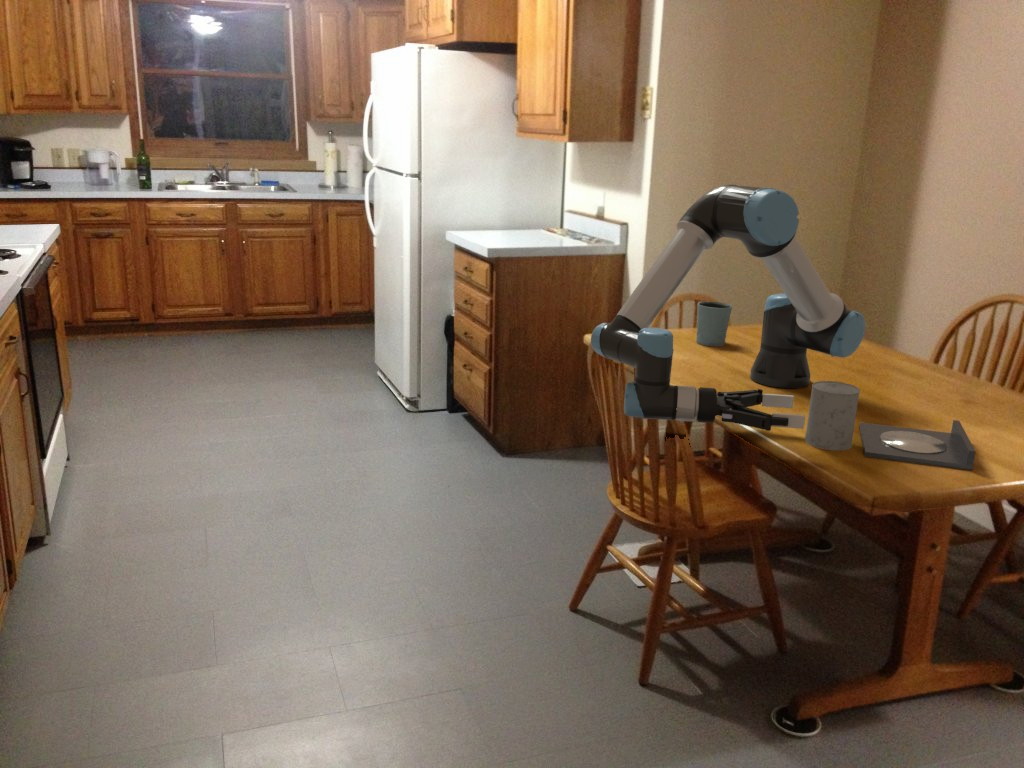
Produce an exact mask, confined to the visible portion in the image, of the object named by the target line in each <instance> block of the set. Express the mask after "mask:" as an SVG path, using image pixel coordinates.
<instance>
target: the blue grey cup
mask: <svg viewBox="0 0 1024 768" xmlns="http://www.w3.org/2000/svg"><path fill="white" fill-rule="evenodd" d="M732 309H733V307H732V305H731V304H729V303H725V302H720V301H719V302H718V301H708V300H707V301H699V302H698V303H697V318H696V320H697V321H696V325H697V326H696V328H697V329H696V339H695V340H696V343H697V344H698V345H701V346H706V347H722V346H724V345H725V344H726V338H727V332H728V328H729V322H730V317H731V314H732Z"/></svg>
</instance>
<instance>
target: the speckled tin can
mask: <svg viewBox="0 0 1024 768" xmlns="http://www.w3.org/2000/svg"><path fill="white" fill-rule="evenodd" d="M860 392H861V389H860V388H859V387H857V386H855V385H853V384H851V383H850V384H849V383H846V382H840V381H832V380H831V381H830V380H821V381H820V380H819V381H815V382H813V383H812V384H811V393H810V394H811V395H810V401H809V409H808V416H807V424H806V430H805V437H804V441H805V443H806V444H808V445H810V446H812V447H814V448H817V449H821V450H826V451H834V452H837V451H838V452H839V451H840V452H841V451H847V450H850V449H851V448H852V447H853V444H852V443H853V437H854V430H855V423H856V416H857V410H858V403H859V397H860Z"/></svg>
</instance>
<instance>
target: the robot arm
mask: <svg viewBox="0 0 1024 768" xmlns="http://www.w3.org/2000/svg"><path fill="white" fill-rule="evenodd" d="M799 214H800V213H799V208H798V205H797V203H796V201H795V199H794V198H793V197H792V196H791V195H790V194H789V193H787V192H785V191H783V190H779V189H776V188H773V187H759V186H757V187H756V186H745V185H738V184H724V185H723V184H722V185H720V186H717V187H715V188H713V189H711V190H708V192H705V194H703V195H702V196H701V197H699V198H697V200H696V201H695V202H694V203H693V204H692V205H691V206H690V207H688V209H687V210H686V212H685V213H684V214H683V215H682V216H681V218H680V219H679V220H678V222H677V223H676V232H675V234H674V235H673V236H672V238H671V239H670V241H668V243H667V245H666V246H665V247H664V249H663V250H662V251H661V253H660V254H659V256H658V257H657V258H656V259H655V261H654V263H653V264H652V265H651V267H650V268H649V269H648V271H647V272H646V273H645V275H644V276H643V277H642V279H641V280H640V282H639V283H638V285H637V286H636V287H635V288H634V290H633V291H632V293H631V294H630V296H629V297H628V298H627V300H626V301H625V302H624V304H623V306H621V308H620V310H619V311H618V312H617V314H616V316H614V317H613V319H612V321H611V322H602V323H600V324H598V325H596V326H595V328H594V329H593V331H592V333H591V335H590V345H591V347H592V350H593V351H594V352H595V353H596V354H598V355H600V356H602V357H603V358H605V359H607V360H612V361H615V362H618V363H621V364H624V365H626V366H628V367H631V368H634V369H635V372H634V381H632V382H627V383H625V387H624V388H625V389H624V402H623V412H624V414H625V416H627V417H631V418H640V419H644V420H647V419H649V420H664V421H665V420H666V421H667V420H668V421H678V422H679V423H680V424H683V423H684V422H694V421H695V420H696V422H698V423H705V424H713V423H714V422H715V420H716V417H717V416H719V417H721V422H722V423H733V424H738V425H741V426H742V425H743V426H747V427H752V428H757V429H761V430H765V431H766V432H767V431H769V432H770V431H771V430H772V427H774V428H790V429H803V430H804V429H805V420H806V414H795V413H793V414H792V413H779V412H772V413H771V414H770V413H768V412H767V413H766V412H763V411H760V410H757V409H753V408H750V407H753V406H758V405H761V407H767V408H768V407H769V408H783V409H793V407H794V400H795V396H794V395H791V394H779V393H778V394H776V393H775V394H774V393H764V392H763V389H759V388H757V389H751V390H740V391H739V390H738V391H717V389H716V388H714V387H704V386H700V387H699V388H698V389H697V387H696V386H689V385H673V384H672V385H671V384H670V383H671V377H672V376H671V375H672V374H671V373H672V366H673V365H672V364H673V354H674V351H675V350H674V335H673V332H671V331H670V330H669V329H666V328H660V327H651V325H652V323H653V322H654V320H655V319H656V317H657V316H658V315H659V313H660V312H661V311H662V309H663V308H664V306H666V304H667V302H668V301H669V300H670V299H671V297H672V295H673V294H674V292H676V290H677V289H678V288H679V285H680V284H681V283H682V281H684V279H685V278H686V276H687V275H688V274H689V272H690V271H691V269H692V268H693V266H694V265H695V264H696V263H697V261H698V259H699V258H700V257H701V256H702V254H703V253H704V251H705V250H709V249H712V248H713V247H714V245H715V244H716V242H717V241H718V240H720V239H721V238H729V239H735V240H738V241H741V243H742V244H743V245H744V247H745V249H746V251H747V252H748V253H749V254H750V255H751V257H754V258H757V259H758V258H759V259H761V260H762V261H763V263H764V264H765V266H766V267H767V269H768V270H769V272H770V273H771V275H772V276H773V278H774V279H775V280H776V282H777V284H778V286H779V287H780V289H781V290H782V291H783V293H775V294H772V295H769V296H768V297H767V298H766V301H765V305H764V309H763V317H762V328H761V330H762V331H761V338H760V340H761V341H760V348H759V352H758V353H757V355H756V357H755V360H754V362H753V364H752V366H751V368H750V374H749V375H750V376H749V378H750V379H751V380H752V381H754V382H755V383H758V384H761V385H764V386H769V387H773V388H774V387H775V388H782V389H783V388H784V389H797V388H798V389H800V388H805V387H807V386H809V385H810V383H811V372H810V366H809V362H808V356H807V351H808V350H811V351H814V352H818V353H822V354H825V355H829V356H831V357H837V358H843V359H844V358H846V357H850V356H851V355H853V354H854V353H855V352H856V351H857V349H858V348H859V346H861V345H860V344H861V343H862V340H863V338H864V336H865V335H864V334H865V332H866V331H865V330H866V319H865V317H864V315H863V314H862V313H861V312H858V311H857V310H851V309H849V308H848V306H846V304H845V303H844V301H843V299H842V298H841V297H840V296H839V295H838V294H837V293H833V292H830V291H829V289H828V287H827V286H826V284H825V283H824V281H823V280H822V278H821V276H820V275H819V273H818V272H817V270H816V268H815V266H814V265H813V264H812V261H811V260H810V258H809V257H808V255H807V254H806V252H805V251H804V249H803V247H802V246H801V244H800V242H799V241H798V239H797V238H796V236H797V232H798V228H799V222H800V219H799V218H798V216H799ZM807 349H808V350H807ZM676 408H677V410H676Z"/></svg>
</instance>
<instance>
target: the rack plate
mask: <svg viewBox="0 0 1024 768" xmlns="http://www.w3.org/2000/svg"><path fill="white" fill-rule="evenodd" d="M858 428H859V432H860V438H861V442H862V449H863V455H864V457H866V458H873V459H874V458H875V459H882V460H888V461H896V462H903V463H905V462H906V463H912V464H913V463H914V464H920V465H928V466H937V467H941V468H942V467H943V468H951V469H959V470H968V471H973V468H974V463H975V457H976V450H975V448H974V446H973V444H972V442H971V440H970V438H969V436H968V435H967V433H966V430H965V428H964V427H963V425H962V423H961V421H960V420H955V419H954V420H952V426H951V431H950V432H945V431H937V430H935V431H934V430H927V429H921V428H920V429H918V428H910V427H905V426H894V425H888V424H887V425H886V424H880V423H879V424H878V423H870V422H862V421H861V422H859V426H858Z"/></svg>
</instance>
